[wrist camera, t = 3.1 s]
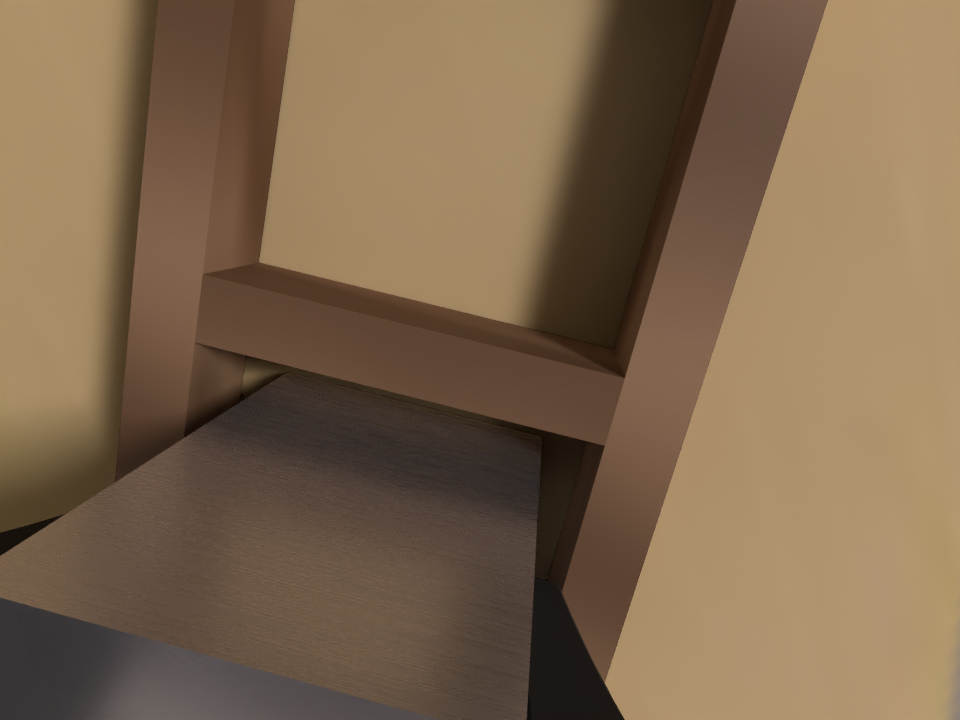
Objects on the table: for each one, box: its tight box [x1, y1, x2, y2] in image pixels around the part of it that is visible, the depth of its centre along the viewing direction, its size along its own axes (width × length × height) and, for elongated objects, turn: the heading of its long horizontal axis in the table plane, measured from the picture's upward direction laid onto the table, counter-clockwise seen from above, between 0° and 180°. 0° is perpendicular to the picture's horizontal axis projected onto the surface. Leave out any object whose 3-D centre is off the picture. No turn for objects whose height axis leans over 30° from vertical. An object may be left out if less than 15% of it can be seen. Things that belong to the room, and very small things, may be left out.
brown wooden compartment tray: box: [115, 0, 828, 683], centre depth 9 cm, size 24×8×2 cm, turn 167°
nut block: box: [0, 372, 542, 720], centre depth 9 cm, size 4×4×6 cm
